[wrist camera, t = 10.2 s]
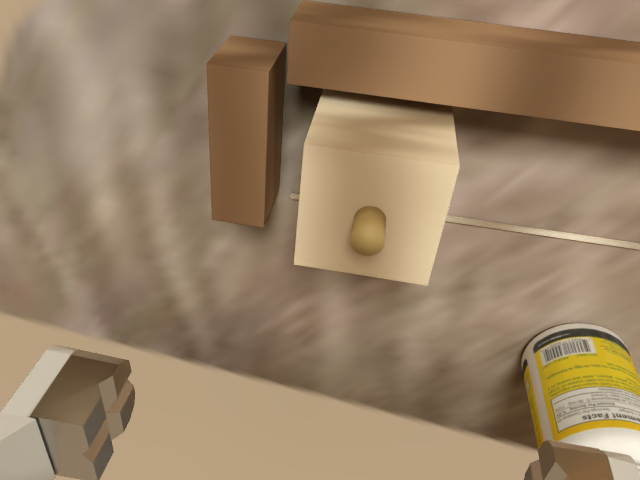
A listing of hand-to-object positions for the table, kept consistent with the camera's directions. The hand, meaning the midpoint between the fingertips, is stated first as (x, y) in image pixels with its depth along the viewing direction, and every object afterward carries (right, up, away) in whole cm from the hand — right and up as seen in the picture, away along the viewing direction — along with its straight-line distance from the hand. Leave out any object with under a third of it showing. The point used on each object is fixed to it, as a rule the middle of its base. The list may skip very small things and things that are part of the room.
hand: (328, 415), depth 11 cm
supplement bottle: (+12, -2, +16) cm, 20 cm away
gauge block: (+2, +7, +11) cm, 13 cm away
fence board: (+6, +7, +10) cm, 14 cm away
